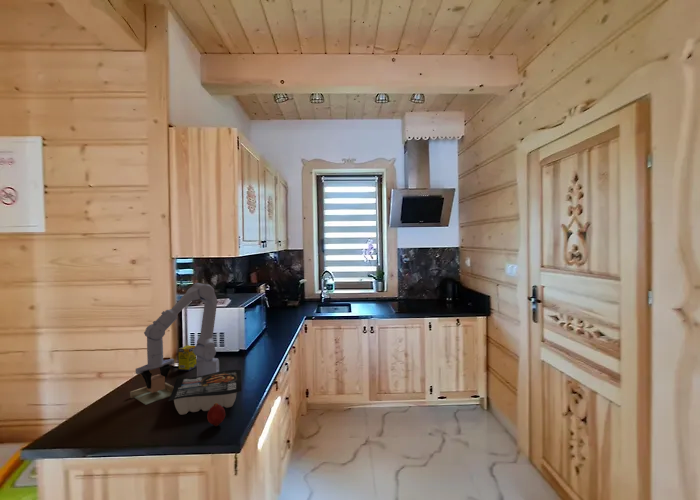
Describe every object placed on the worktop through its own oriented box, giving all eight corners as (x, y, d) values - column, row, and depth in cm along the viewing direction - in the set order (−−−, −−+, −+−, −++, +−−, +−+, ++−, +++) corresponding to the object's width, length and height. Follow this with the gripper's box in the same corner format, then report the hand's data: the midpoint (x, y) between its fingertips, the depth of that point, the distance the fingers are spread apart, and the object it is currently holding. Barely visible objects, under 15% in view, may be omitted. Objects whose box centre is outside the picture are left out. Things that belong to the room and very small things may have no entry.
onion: (210, 421, 120) (210, 399, 120) (227, 420, 120) (227, 398, 120) (205, 430, 114) (204, 407, 114) (222, 429, 114) (222, 406, 114)
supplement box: (189, 371, 167) (188, 349, 167) (178, 370, 168) (177, 348, 168) (196, 367, 173) (196, 345, 173) (186, 366, 174) (185, 345, 174)
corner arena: (163, 386, 150) (162, 380, 150) (178, 394, 142) (177, 388, 142) (130, 397, 139) (129, 391, 139) (144, 406, 131) (144, 400, 131)
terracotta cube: (159, 385, 146) (159, 374, 146) (165, 388, 143) (164, 376, 143) (147, 389, 142) (146, 377, 142) (152, 392, 139) (152, 380, 139)
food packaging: (240, 368, 151) (241, 389, 129) (241, 385, 151) (241, 408, 129) (177, 376, 143) (167, 399, 121) (178, 393, 143) (168, 420, 121)
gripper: (168, 347, 150) (169, 377, 151) (131, 356, 139) (132, 389, 139) (176, 350, 146) (177, 381, 147) (139, 359, 135) (140, 393, 135)
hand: (156, 385), depth 143 cm, fingers closed on terracotta cube, 5 cm apart
